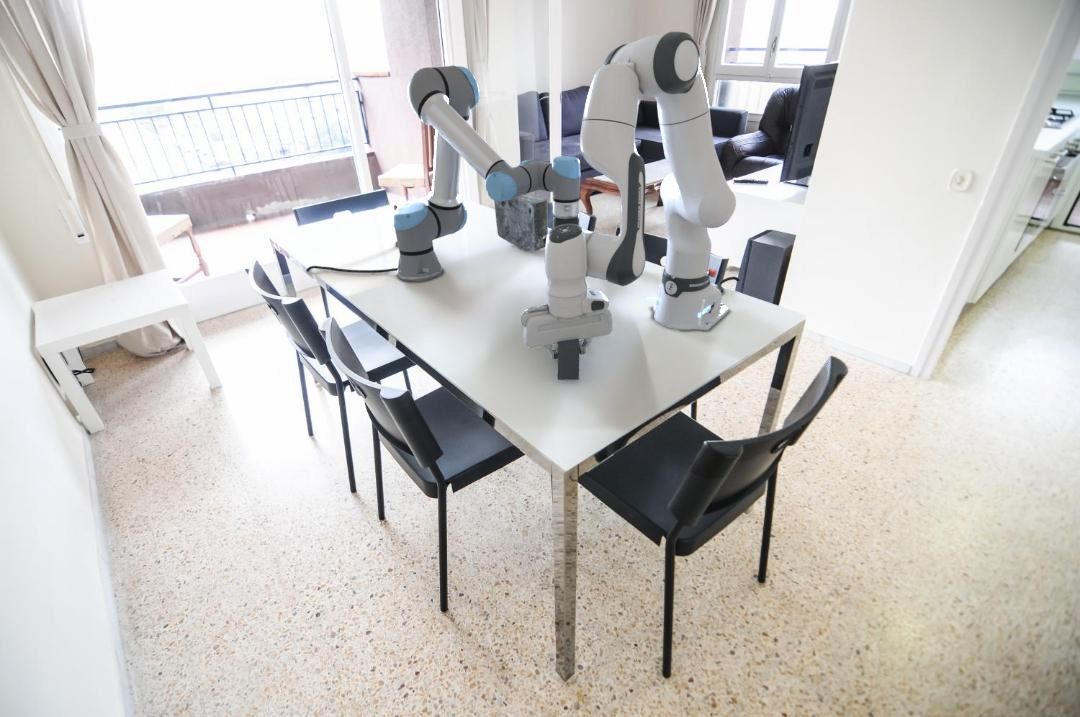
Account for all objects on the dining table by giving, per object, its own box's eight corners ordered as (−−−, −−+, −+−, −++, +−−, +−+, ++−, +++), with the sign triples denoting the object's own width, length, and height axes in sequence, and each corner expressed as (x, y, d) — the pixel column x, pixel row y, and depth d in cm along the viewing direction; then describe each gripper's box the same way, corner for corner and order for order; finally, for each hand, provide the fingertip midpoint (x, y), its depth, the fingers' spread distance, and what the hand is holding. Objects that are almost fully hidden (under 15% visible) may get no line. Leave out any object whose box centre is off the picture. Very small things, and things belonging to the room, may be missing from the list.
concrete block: (553, 252, 189) (552, 199, 179) (534, 258, 185) (532, 204, 175) (514, 236, 208) (511, 187, 198) (496, 241, 204) (492, 191, 193)
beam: (557, 285, 158) (557, 259, 154) (573, 285, 158) (573, 259, 154) (557, 379, 113) (557, 346, 108) (579, 379, 113) (579, 346, 108)
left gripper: (533, 219, 139) (536, 295, 151) (598, 218, 138) (595, 295, 150) (535, 211, 145) (537, 285, 158) (597, 211, 144) (594, 285, 157)
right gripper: (523, 315, 103) (528, 370, 111) (616, 300, 107) (614, 355, 114) (517, 303, 108) (521, 356, 116) (605, 289, 112) (604, 342, 119)
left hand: (565, 290), depth 154 cm, fingers closed on beam, 5 cm apart
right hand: (568, 355), depth 115 cm, fingers closed on beam, 5 cm apart
